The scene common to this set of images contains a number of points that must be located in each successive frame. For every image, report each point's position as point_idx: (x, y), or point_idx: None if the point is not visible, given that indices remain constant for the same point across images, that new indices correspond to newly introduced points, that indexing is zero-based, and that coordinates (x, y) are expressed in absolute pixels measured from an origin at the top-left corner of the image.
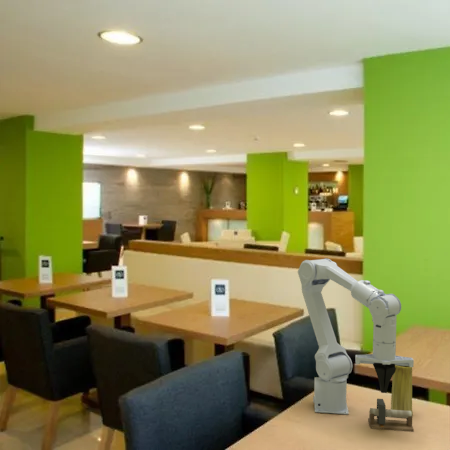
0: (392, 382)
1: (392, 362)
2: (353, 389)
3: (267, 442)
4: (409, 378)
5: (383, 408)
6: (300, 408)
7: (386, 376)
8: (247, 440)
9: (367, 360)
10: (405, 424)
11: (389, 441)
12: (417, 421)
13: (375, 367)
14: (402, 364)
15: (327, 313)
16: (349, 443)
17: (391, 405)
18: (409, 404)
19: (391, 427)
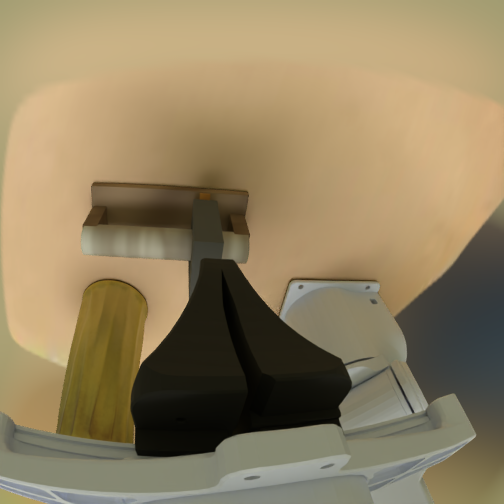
0: None
1: (176, 470)
2: None
3: None
4: (68, 396)
5: (203, 233)
6: (399, 297)
7: (222, 332)
8: None
9: (422, 436)
10: (113, 220)
11: (206, 92)
12: (72, 258)
13: (338, 397)
14: (63, 445)
15: None
16: (360, 82)
17: (142, 325)
18: (85, 316)
19: (170, 191)
